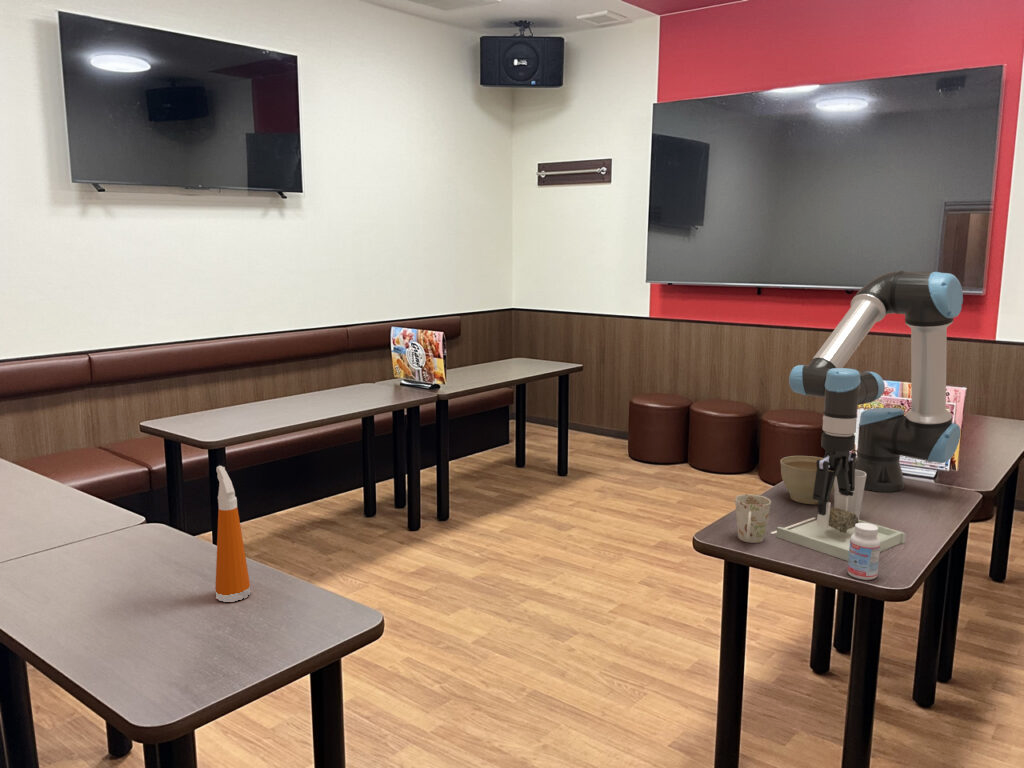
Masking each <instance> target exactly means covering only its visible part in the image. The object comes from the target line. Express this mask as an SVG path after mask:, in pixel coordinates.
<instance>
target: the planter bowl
mask: <svg viewBox="0 0 1024 768" xmlns="http://www.w3.org/2000/svg"><path fill="white" fill-rule="evenodd" d="M818 459H819V460H823V459H824V457H819V456H813V455H812V456H810V455H809V456H808V455H791V456H786V457H782V458H781V459H780V460H779V461H780V473H781V475H780V476H781V478H782V481H783V484H784V486H785V488H786V490H787V491H788V494H789V495H790V499H791V500H793V501H794V502H796V503H801V504H806V505H818V500H814V499H813V492H814V485H815V478H816V471H817V464H816V462H817V460H818ZM829 471H830V470H829ZM832 472H834V471H832ZM832 493H834V483H833V487H832V490H831V494H832Z"/></svg>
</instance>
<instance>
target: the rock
mask: <svg viewBox="0 0 1024 768" xmlns="http://www.w3.org/2000/svg"><path fill="white" fill-rule="evenodd" d="M857 523H858V518H857V516H856V514H854V513H852V512H850V511H845V510H841V509H838V508H834V507H830V517H829V526H831V527H832V528H835V529H836V530H839V531H840V532H844V533H847V529H850V528H851V529H852V528H853V527H855V524H857Z"/></svg>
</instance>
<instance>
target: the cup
mask: <svg viewBox="0 0 1024 768" xmlns="http://www.w3.org/2000/svg"><path fill="white" fill-rule="evenodd" d="M866 475H867V474H866V473H865V472H863V471H860V470H856V469H855V490H854V491H851V492H853V496H850V495H848V508H847V511H850V512H852V513H854V514H856V516H857V518H858V519H859V520H860V516H861V509H862V505H863V497H864V492H865V491H864V490H865V489H864V486H865V481H866ZM833 493H834V494H833V502H834V504H833V508H836V497H837V494H838V493H839V488H838V482H837V476H835V479H834V491H833ZM839 494H841V493H839Z"/></svg>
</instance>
